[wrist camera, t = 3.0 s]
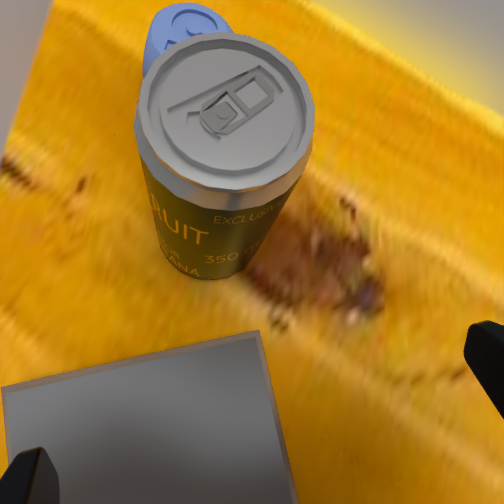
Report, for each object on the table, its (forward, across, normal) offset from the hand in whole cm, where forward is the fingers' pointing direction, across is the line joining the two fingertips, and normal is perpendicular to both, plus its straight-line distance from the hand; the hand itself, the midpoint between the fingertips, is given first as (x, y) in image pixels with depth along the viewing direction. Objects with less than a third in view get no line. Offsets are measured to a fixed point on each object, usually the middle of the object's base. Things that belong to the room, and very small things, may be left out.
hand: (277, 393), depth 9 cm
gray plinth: (+7, +4, +12) cm, 15 cm away
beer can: (+15, -1, +4) cm, 16 cm away
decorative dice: (+22, -2, -2) cm, 22 cm away
